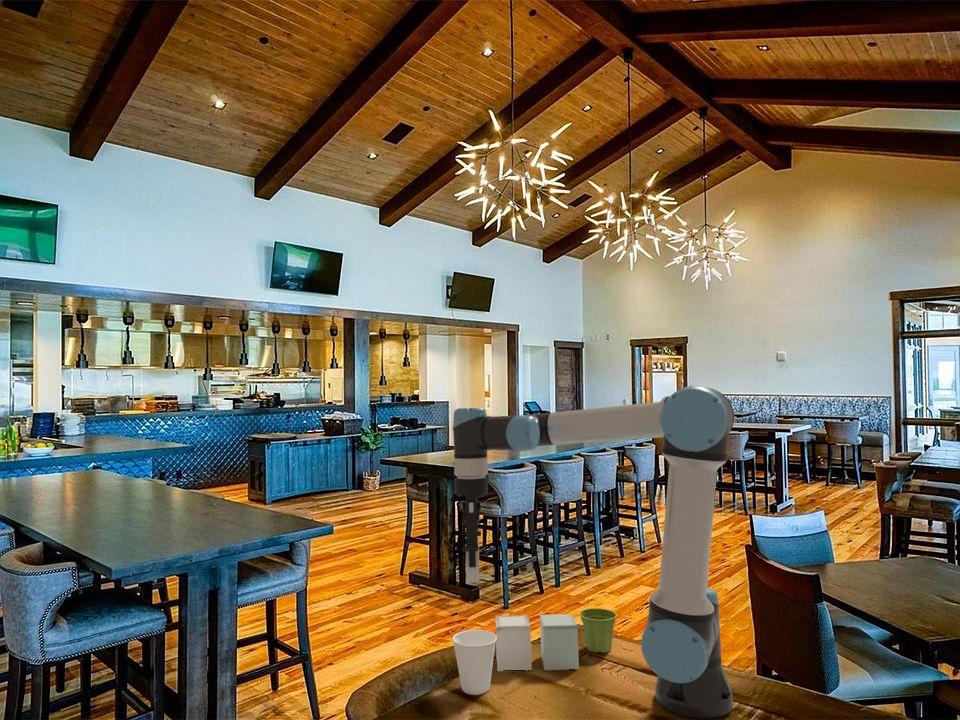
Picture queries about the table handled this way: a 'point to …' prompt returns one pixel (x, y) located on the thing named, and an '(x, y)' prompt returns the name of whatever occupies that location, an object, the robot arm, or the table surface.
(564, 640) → the sage cover
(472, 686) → the cup
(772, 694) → the table surface
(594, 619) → the plant pot
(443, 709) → the table surface
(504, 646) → the white cover
